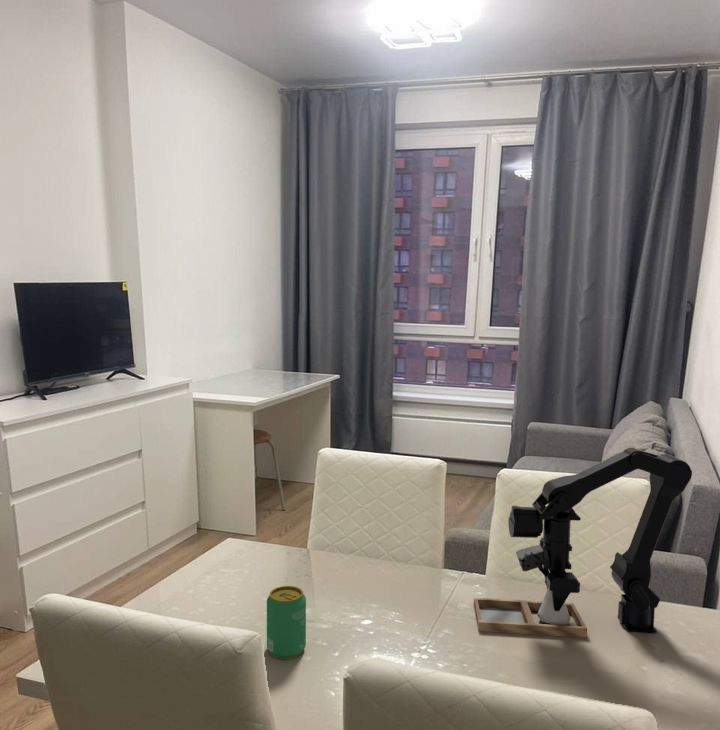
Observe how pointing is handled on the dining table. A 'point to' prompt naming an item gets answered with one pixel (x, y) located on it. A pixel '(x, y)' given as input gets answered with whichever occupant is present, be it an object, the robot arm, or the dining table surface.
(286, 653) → the beverage can
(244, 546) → the dining table surface
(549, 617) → the flask
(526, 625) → the caddy
